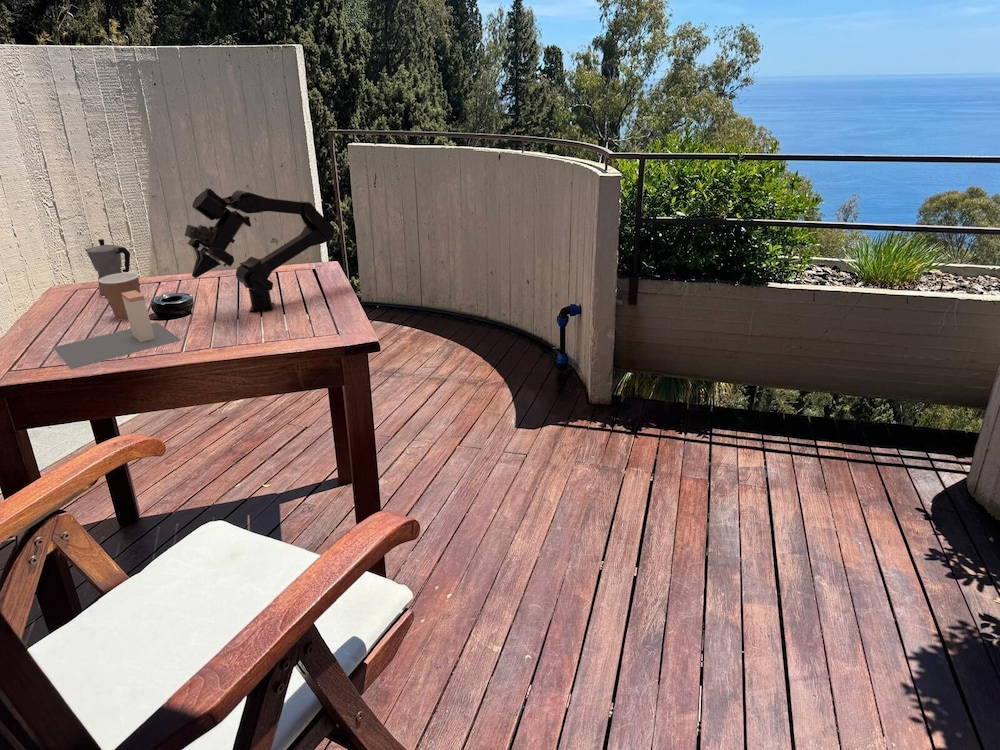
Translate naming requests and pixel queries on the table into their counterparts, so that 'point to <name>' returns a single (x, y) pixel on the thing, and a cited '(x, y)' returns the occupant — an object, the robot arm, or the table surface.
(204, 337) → the table surface
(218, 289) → the table surface
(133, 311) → the tan bar
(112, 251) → the coffeepot
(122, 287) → the coffee cup
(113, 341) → the mat
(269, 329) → the table surface
